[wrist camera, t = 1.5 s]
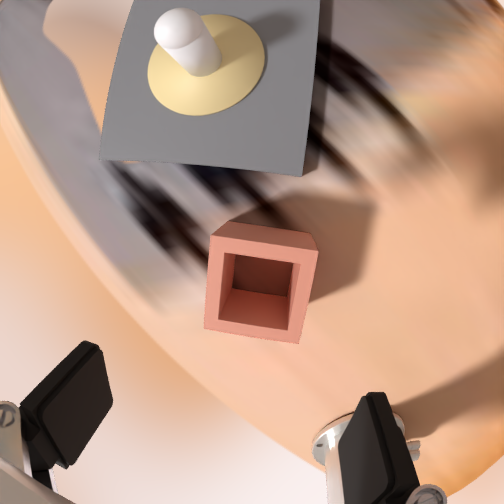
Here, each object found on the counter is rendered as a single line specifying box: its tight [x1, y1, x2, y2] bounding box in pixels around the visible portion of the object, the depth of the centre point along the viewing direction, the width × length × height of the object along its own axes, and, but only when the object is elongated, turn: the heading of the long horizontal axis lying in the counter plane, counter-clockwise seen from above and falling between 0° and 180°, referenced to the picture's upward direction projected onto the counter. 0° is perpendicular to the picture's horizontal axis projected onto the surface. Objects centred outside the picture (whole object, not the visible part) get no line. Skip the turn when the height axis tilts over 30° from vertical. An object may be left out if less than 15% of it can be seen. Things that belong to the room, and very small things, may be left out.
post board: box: [99, 0, 320, 177], centre depth 16 cm, size 18×18×9 cm
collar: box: [204, 221, 319, 344], centre depth 22 cm, size 7×7×6 cm
